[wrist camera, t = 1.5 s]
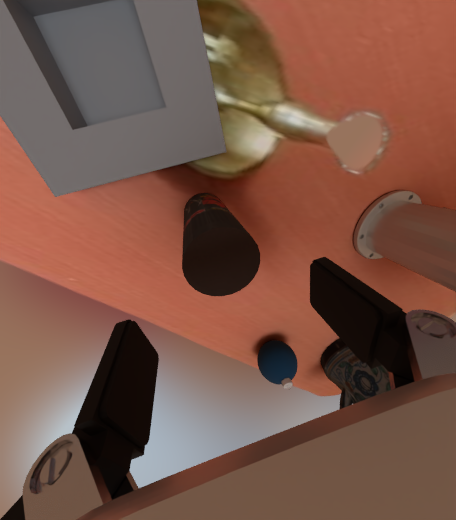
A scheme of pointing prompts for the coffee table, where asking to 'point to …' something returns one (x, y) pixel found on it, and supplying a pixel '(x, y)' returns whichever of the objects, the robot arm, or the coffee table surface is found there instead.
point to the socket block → (106, 88)
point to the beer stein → (353, 374)
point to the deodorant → (216, 248)
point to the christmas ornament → (277, 363)
